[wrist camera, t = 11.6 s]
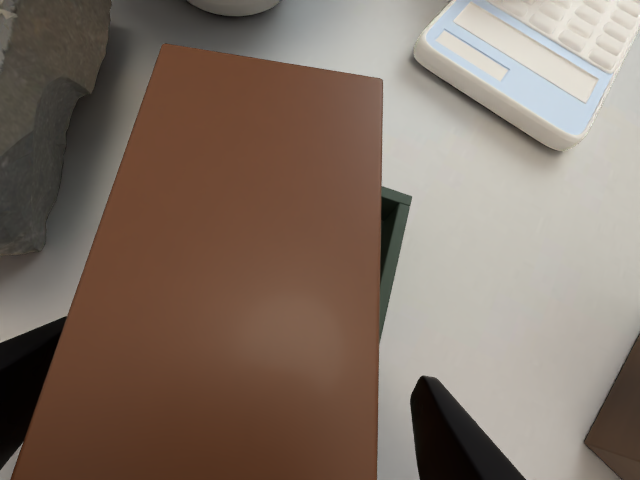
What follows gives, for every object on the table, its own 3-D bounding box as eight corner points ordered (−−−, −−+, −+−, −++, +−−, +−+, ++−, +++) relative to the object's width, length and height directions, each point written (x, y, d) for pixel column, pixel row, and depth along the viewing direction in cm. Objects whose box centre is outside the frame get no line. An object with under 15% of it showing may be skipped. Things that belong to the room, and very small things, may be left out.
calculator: (635, 18, 27) (660, -5, 25) (561, 162, 21) (588, 145, 19) (509, -55, 29) (524, -81, 27) (403, 59, 22) (414, 34, 20)
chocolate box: (311, 448, 13) (375, 701, 4) (185, 441, 13) (-74, 707, 4) (328, 222, 17) (384, 77, 8) (230, 211, 17) (161, 41, 7)
